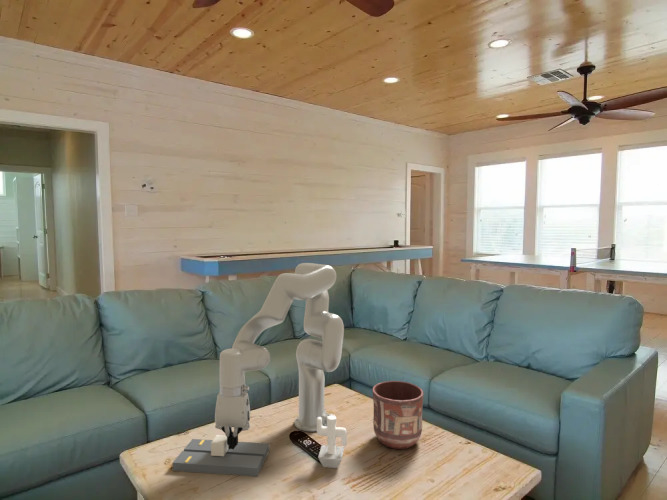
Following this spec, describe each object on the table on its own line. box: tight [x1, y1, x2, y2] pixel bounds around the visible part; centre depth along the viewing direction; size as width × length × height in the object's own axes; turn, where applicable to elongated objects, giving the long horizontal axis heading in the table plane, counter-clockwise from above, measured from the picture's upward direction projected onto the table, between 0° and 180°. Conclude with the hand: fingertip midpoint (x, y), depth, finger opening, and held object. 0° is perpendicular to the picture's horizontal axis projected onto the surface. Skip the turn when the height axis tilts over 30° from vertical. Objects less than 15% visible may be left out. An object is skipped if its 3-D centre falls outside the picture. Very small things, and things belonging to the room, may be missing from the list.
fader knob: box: [211, 434, 228, 456], centre depth 131 cm, size 4×5×5 cm
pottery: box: [371, 380, 425, 450], centre depth 143 cm, size 18×18×18 cm
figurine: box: [316, 414, 348, 469], centre depth 129 cm, size 7×9×15 cm
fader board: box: [171, 438, 270, 477], centre depth 131 cm, size 26×14×3 cm, turn 85°
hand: (232, 446), depth 130 cm, fingers closed
